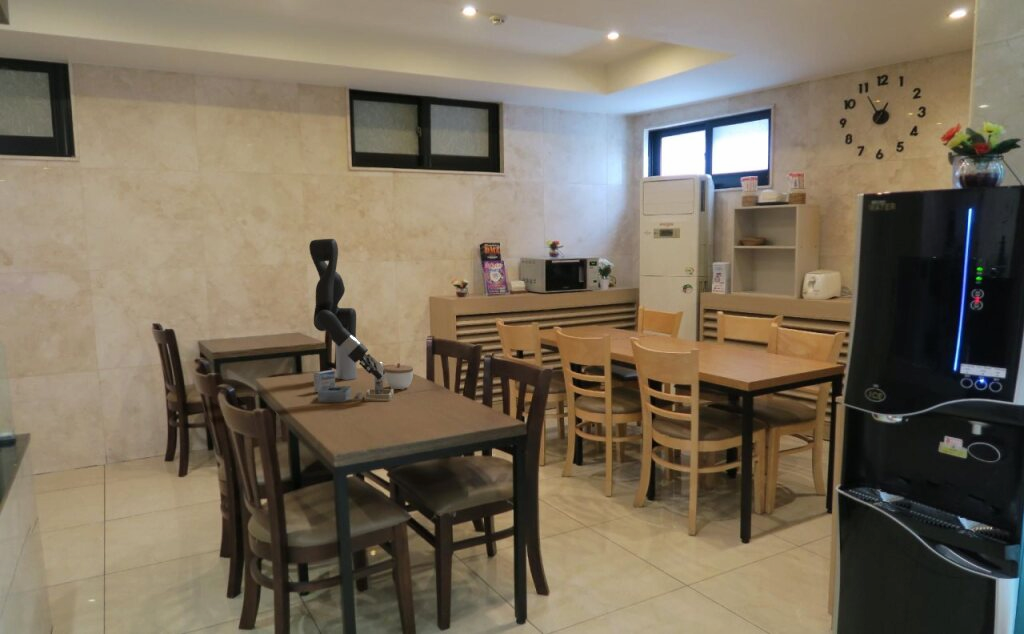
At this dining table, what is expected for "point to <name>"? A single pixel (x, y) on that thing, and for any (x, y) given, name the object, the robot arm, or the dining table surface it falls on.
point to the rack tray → (379, 395)
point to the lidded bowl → (398, 376)
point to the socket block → (334, 394)
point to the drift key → (358, 395)
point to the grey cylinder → (379, 382)
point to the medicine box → (323, 379)
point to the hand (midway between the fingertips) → (382, 376)
